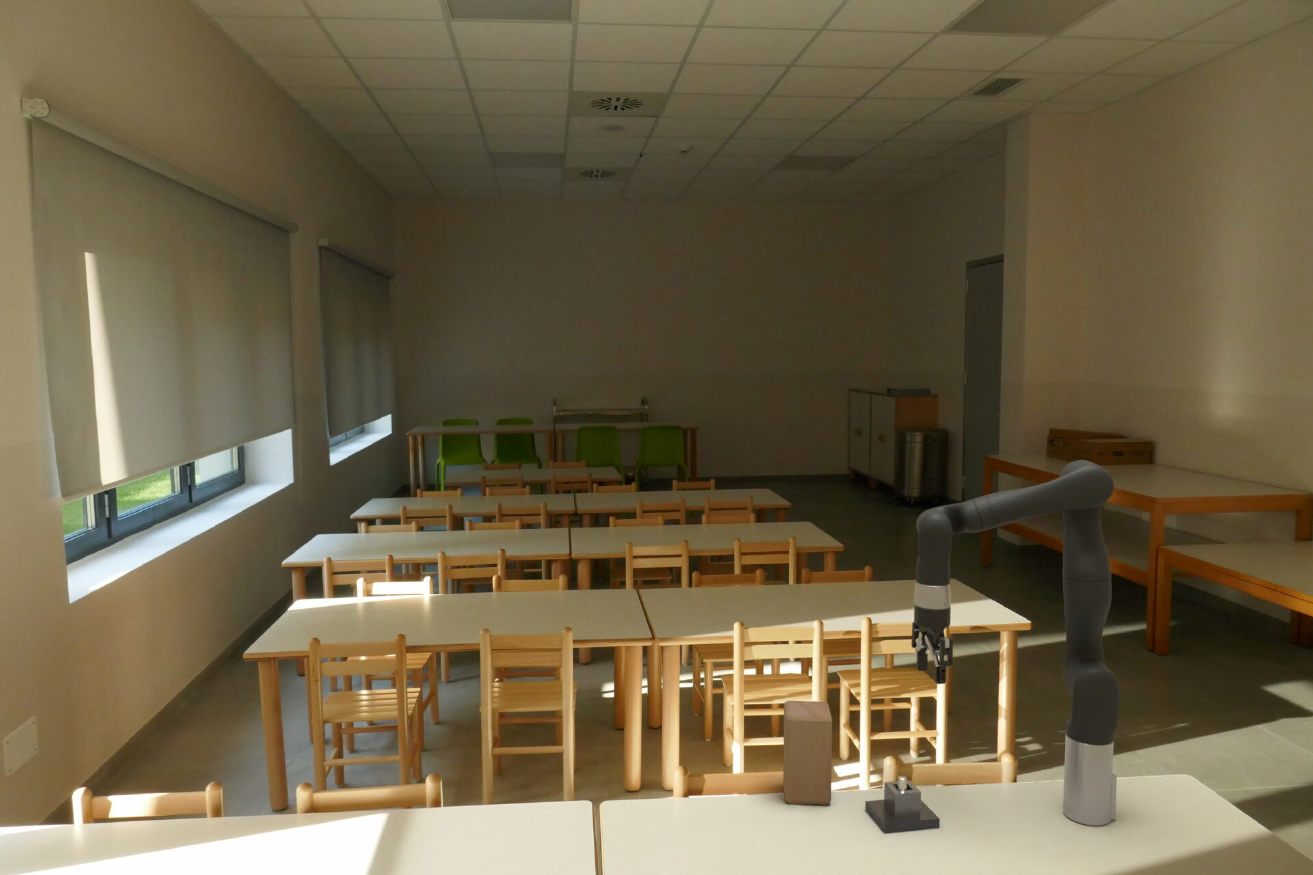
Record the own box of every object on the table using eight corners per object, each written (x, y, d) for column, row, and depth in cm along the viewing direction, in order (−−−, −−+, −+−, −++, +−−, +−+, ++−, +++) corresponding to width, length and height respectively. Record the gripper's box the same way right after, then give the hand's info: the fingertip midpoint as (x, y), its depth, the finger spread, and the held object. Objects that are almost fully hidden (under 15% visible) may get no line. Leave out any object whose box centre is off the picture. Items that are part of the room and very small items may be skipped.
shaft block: (917, 805, 203) (918, 765, 202) (939, 827, 193) (940, 785, 192) (865, 810, 201) (865, 769, 200) (884, 833, 191) (885, 790, 190)
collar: (908, 802, 200) (909, 779, 199) (920, 814, 194) (921, 791, 194) (884, 804, 199) (884, 781, 198) (895, 817, 193) (895, 794, 193)
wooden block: (827, 785, 212) (828, 700, 211) (831, 806, 202) (832, 717, 201) (783, 784, 213) (783, 698, 212) (784, 804, 203) (785, 715, 202)
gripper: (965, 610, 194) (963, 686, 196) (933, 594, 208) (931, 665, 210) (931, 612, 193) (930, 689, 194) (901, 595, 207) (900, 667, 208)
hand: (930, 676), depth 202 cm, fingers open, 8 cm apart
